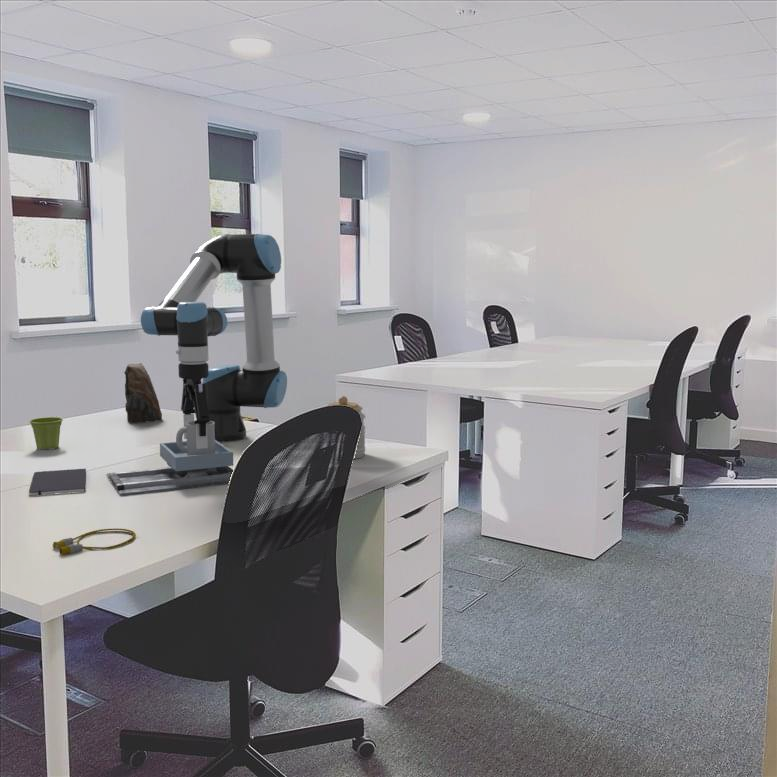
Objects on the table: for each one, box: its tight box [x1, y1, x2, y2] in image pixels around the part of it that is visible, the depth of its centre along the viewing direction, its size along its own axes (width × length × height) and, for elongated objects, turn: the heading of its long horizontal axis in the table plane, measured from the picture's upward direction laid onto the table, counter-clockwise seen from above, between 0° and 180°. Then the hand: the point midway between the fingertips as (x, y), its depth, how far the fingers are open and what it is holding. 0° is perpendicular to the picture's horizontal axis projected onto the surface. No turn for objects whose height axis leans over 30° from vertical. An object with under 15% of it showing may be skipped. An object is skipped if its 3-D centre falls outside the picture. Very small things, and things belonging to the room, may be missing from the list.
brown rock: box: [123, 362, 163, 424], centre depth 300 cm, size 13×13×20 cm
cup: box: [175, 420, 215, 456], centre depth 218 cm, size 7×10×9 cm
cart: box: [159, 440, 234, 477], centre depth 219 cm, size 15×19×6 cm
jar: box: [326, 395, 366, 460], centre depth 244 cm, size 13×13×18 cm
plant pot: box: [28, 416, 64, 451], centre depth 252 cm, size 9×9×9 cm
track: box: [106, 466, 234, 497], centre depth 216 cm, size 30×22×2 cm
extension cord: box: [52, 528, 136, 557], centre depth 167 cm, size 12×16×2 cm
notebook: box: [28, 468, 87, 496], centre depth 211 cm, size 13×2×21 cm
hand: (195, 443), depth 218 cm, fingers open, 13 cm apart
